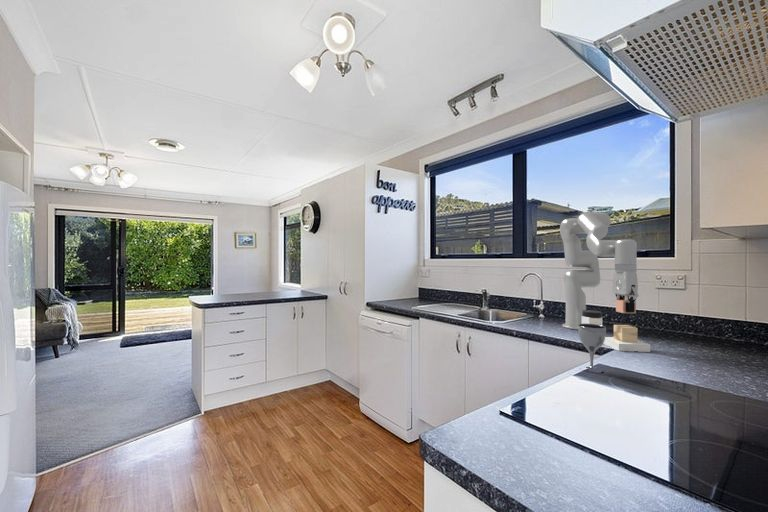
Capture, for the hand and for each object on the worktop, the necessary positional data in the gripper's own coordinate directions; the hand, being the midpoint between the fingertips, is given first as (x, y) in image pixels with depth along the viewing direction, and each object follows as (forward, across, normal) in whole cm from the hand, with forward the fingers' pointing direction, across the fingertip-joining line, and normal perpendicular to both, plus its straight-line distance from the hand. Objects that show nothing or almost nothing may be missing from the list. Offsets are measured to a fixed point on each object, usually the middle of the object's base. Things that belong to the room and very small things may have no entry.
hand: (625, 310), depth 141 cm
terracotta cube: (+1, 0, 0) cm, 1 cm away
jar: (+16, -21, -3) cm, 27 cm away
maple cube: (+13, 0, 0) cm, 13 cm away
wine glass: (+16, +32, -30) cm, 46 cm away
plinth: (+16, 0, 0) cm, 16 cm away
